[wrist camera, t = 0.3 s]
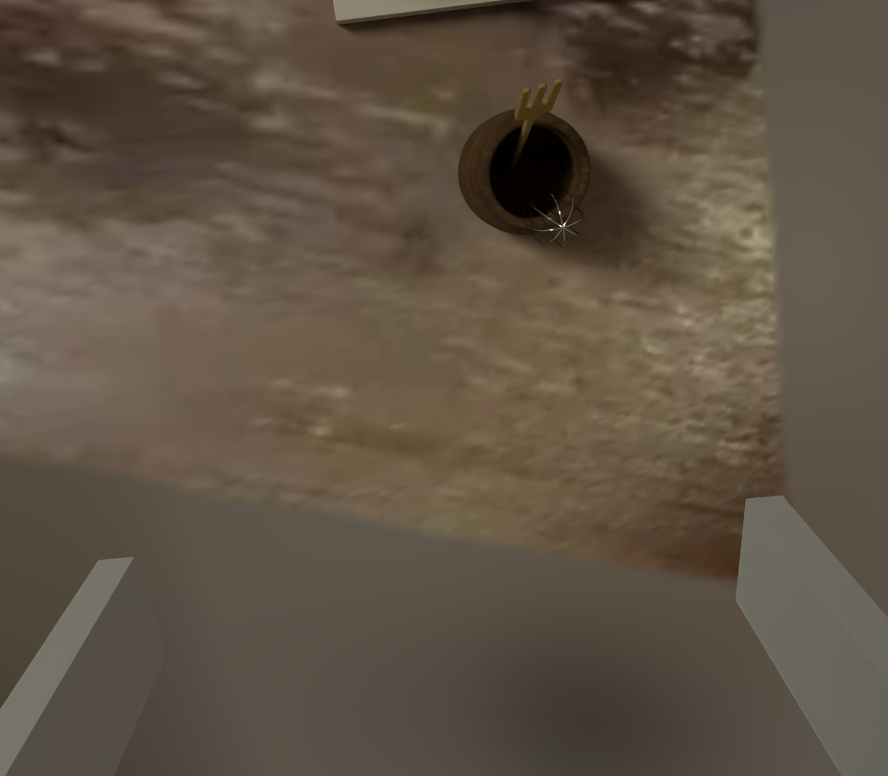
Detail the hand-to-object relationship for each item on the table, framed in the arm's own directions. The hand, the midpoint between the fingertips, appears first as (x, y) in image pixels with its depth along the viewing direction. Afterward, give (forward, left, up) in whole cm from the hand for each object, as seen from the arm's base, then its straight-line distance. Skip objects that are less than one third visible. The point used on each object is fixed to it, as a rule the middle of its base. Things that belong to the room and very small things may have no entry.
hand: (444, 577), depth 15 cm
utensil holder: (-8, +6, -26) cm, 28 cm away
